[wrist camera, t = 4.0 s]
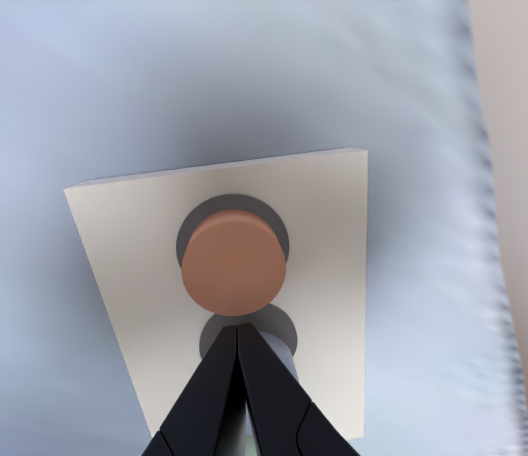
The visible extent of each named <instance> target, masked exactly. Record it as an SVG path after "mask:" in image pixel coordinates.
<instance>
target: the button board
mask: <svg viewBox="0 0 528 456" xmlns="http://www.w3.org/2000/svg"><path fill="white" fill-rule="evenodd" d="M63 190H64V193H65V196H66V199H67V201H68V204H69V207H70V210H71V213H72V215H73V218H74V221H75V224H76V227H77V229H78V232H79V235H80V238H81V240H82V243H83V246H84V249H85V252H86V254H87V257H88V260H89V263H90V266H91V268H92V271H93V274H94V277H95V280H96V282H97V285H98V288H99V291H100V294H101V296H102V299H103V302H104V305H105V308H106V310H107V313H108V316H109V319H110V322H111V324H112V327H113V330H114V333H115V336H116V338H117V341H118V344H119V347H120V349H121V352H122V355H123V358H124V361H125V363H126V366H127V369H128V372H129V375H130V377H131V380H132V383H133V386H134V389H135V391H136V394H137V397H138V400H139V403H140V405H141V408H142V411H143V414H144V417H145V419H146V422H147V425H148V428H149V431H150V433H151V436H152V438H153V437H154V435H155V434H156V432H157V431H158V430H159V428H160V426H161V424H162V423H163V421H164V420H165V418H166V416H167V415H168V413H169V412H170V410H171V408H172V407H173V405H174V404H175V402H176V400H177V399H178V397H179V396H180V394H181V392H182V391H183V389H184V388H185V386H186V384H187V383H188V381H189V380H190V378H191V376H192V375H193V373H194V372H195V370H196V368H197V367H198V365H199V364H200V362H201V360H202V359H203V357H204V356H205V354H206V352H207V351H208V349H209V348H210V346H211V344H212V343H213V341H214V340H215V338H216V336H217V335H218V333H219V332H220V330H221V328H222V327H223V326H227V325H233V324H236V325H237V326H238V324H240V323H246V322H252V323H253V324H254V326H255V327H256V328H257V330H258V331H259V332H264V333H268V334H271V335H274V336H276V337H278V338H279V339H281V340H282V341H283V342H284V343H285V344H286V345H287V346H288V347H289V349H290V351H291V354H292V357H293V361H294V364H295V368H296V372H297V375H298V379H299V383H300V385H301V386H302V387H303V389H304V390H305V391H306V393H307V394H308V395H309V396H310V398H311V399H312V402H314V403H315V404H316V405H317V407H318V408H319V409H320V410H321V412H322V413H323V414H324V415H325V417H326V418H327V419H328V420H329V421H330V423H331V424H332V425H333V426H334V427H335V429H336V430H337V431H338V432H339V433H340V434H341V436H342V437H343V438H344V439H345V440H349V439H355V438H360V437H364V385H365V321H366V257H367V194H368V150H366V149H360V148H354V147H347V148H340V149H332V150H324V151H316V152H308V153H300V154H292V155H284V156H276V157H268V158H260V159H252V160H244V161H236V162H228V163H220V164H213V165H205V166H197V167H189V168H181V169H173V170H165V171H157V172H149V173H141V174H133V175H125V176H117V177H109V178H101V179H93V180H86V181H82V182H79V183H77V184H74V185H72V186H69V187H66V188H64V189H63ZM229 209H240V210H245V211H249V212H252V213H254V214H256V215H258V216H260V217H261V218H263V219H264V220H265V221H266V222H267V223H268V224H269V225H270V226H271V228H272V229H273V231H274V233H275V235H276V237H277V239H278V242H279V244H280V246H281V249H282V251H283V254H284V257H285V261H286V276H285V280H284V283H283V285H282V288H281V289H280V291H279V293H278V294H277V295H276V297H275V298H274V299H273V300H272V301H271V302H270V303H268V304H267V305H266V306H264V307H263V308H261V309H259V310H257V311H255V312H253V313H250V314H246V315H240V316H224V315H219V314H215V313H212V312H210V311H208V310H206V309H204V308H202V307H201V306H199V305H198V304H197V303H196V302H195V301H194V300H193V299H192V298H191V297H190V295H189V294H188V292H187V291H186V289H185V287H184V284H183V280H182V274H181V267H182V261H183V258H184V255H185V252H186V249H187V246H188V243H189V240H190V237H191V235H192V233H193V231H194V230H195V228H196V227H197V226H198V225H199V223H200V222H202V221H203V220H204V219H205V218H207V217H208V216H210V215H212V214H214V213H216V212H219V211H223V210H229ZM159 431H160V430H159Z"/></svg>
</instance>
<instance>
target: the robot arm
mask: <svg viewBox="0 0 528 456" xmlns="http://www.w3.org/2000/svg"><path fill="white" fill-rule="evenodd" d="M246 404H247V409H248V415H249V420H250V425H251V430H252V434H253V439H254V444H255V449H256V454H257V456H360V455H359V454H358V453H357V451H356V450H355V449H354V448H353V447H352V446H351V445H350V444H349V443H348V442H347V441H346V440H345V439H344V438H343V437H342V436H341V434H340V433H339V432H338V431H337V430H336V429H335V427H334V426H333V425H332V424H331V423H330V421H329V420H328V419H327V418H326V417H325V415H324V414H323V413H322V412H321V410H320V409H319V408H318V407H317V405H316V404H315V403H314V402H312V399H311V398H310V396H309V395H308V394H307V393H306V391H305V390H304V389H303V387H302V386H301V385H300V384H299V382H298V381H297V380H296V378H295V377H294V376H293V375H292V373H291V372H290V371H289V369H288V368H287V367H286V366H285V364H284V363H283V362H282V360H281V359H280V358H279V357H278V355H277V354H276V353H275V351H274V350H273V349H272V348H271V346H270V345H269V344H268V342H267V341H266V340H265V339H264V337H263V336H262V335H261V333H260V332H259V331H258V330H257V328H256V327H255V326H254V324H253V323H252V322H246V323H240V324H238V326H237V325H236V324H233V325H227V326H223V327H222V328H221V330H220V332H219V333H218V335H217V336H216V338H215V340H214V341H213V343H212V344H211V346H210V348H209V349H208V351H207V352H206V354H205V356H204V357H203V359H202V360H201V362H200V364H199V365H198V367H197V368H196V370H195V372H194V373H193V375H192V376H191V378H190V380H189V381H188V383H187V384H186V386H185V388H184V389H183V391H182V392H181V394H180V396H179V397H178V399H177V400H176V402H175V404H174V405H173V407H172V408H171V410H170V412H169V413H168V415H167V416H166V418H165V420H164V421H163V423H162V424H161V426H160V428H159V430H160V431H159V430H158V431H157V432H156V434H155V435H154V437H153V438H152V440H151V442H150V443H149V445H148V446H147V448H146V449H145V451H144V452H143V454H142V455H141V456H245V451H246Z"/></svg>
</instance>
